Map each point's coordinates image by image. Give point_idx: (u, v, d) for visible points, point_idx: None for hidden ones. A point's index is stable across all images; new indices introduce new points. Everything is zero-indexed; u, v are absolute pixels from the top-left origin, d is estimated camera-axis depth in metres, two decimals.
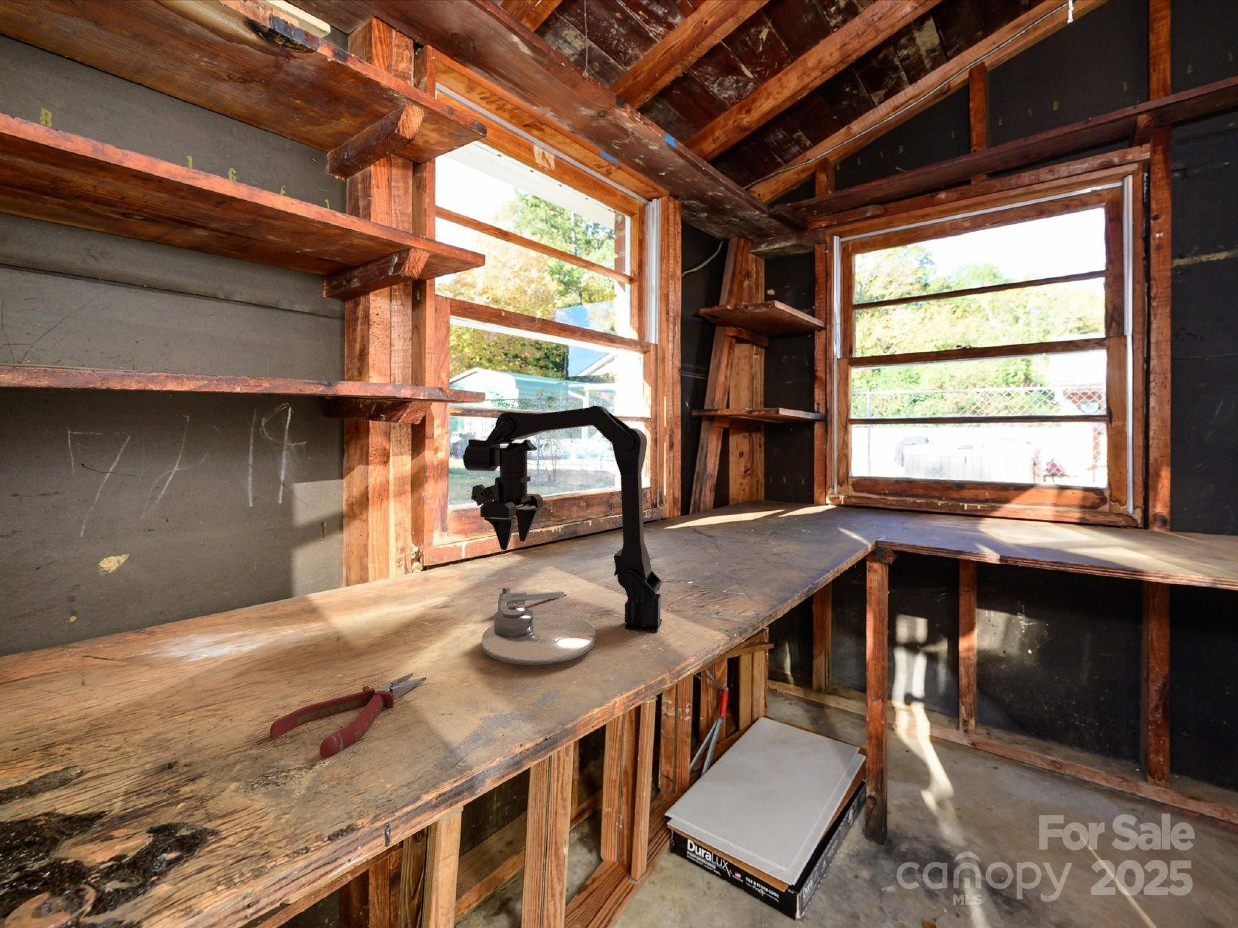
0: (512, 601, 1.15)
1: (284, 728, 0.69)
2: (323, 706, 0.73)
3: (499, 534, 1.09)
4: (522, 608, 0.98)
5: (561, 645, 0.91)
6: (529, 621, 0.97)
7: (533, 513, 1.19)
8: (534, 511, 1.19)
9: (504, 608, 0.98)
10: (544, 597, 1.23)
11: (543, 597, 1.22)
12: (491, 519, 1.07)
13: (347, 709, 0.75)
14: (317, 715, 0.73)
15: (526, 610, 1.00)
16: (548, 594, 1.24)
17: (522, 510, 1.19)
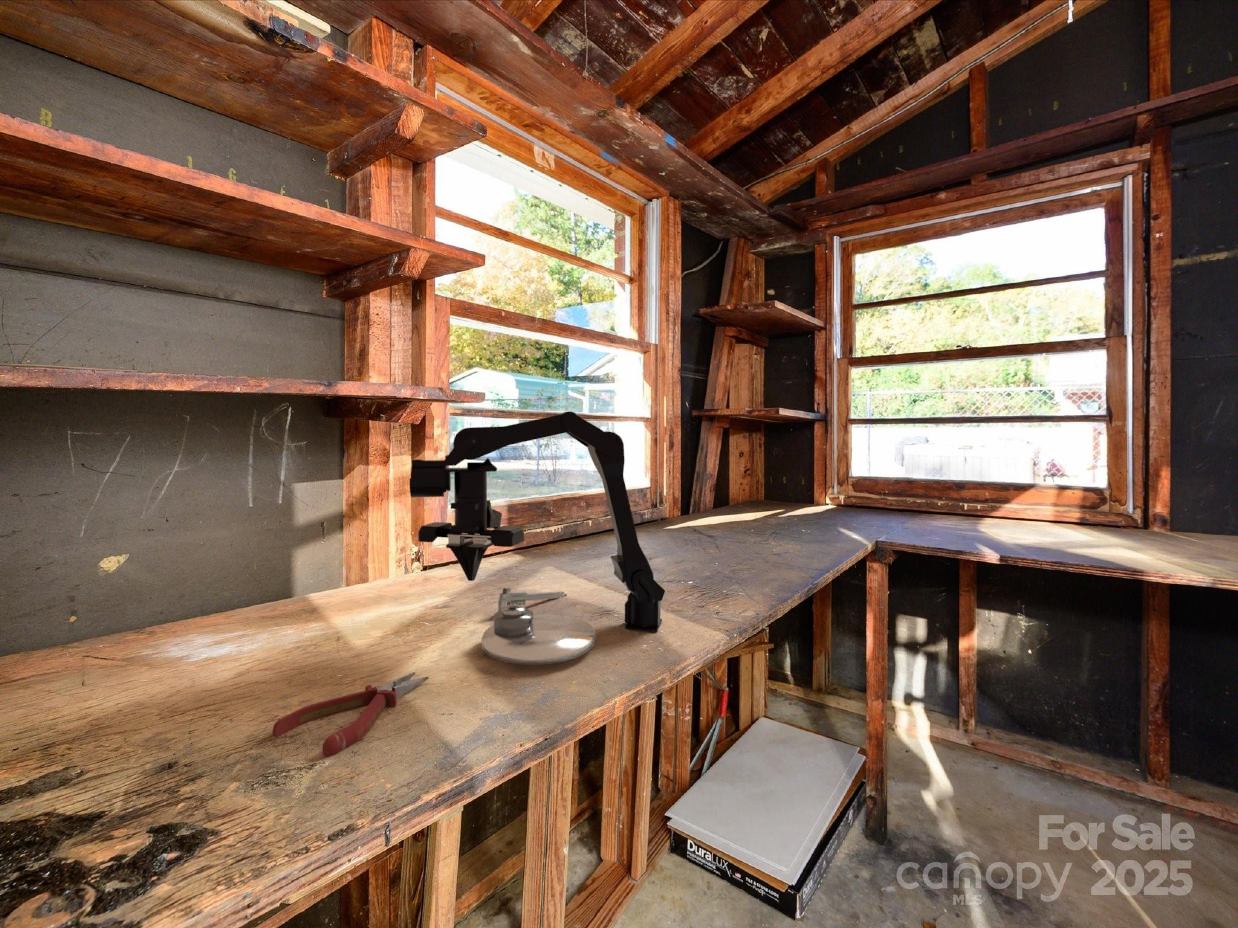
0: (512, 601, 1.15)
1: (287, 727, 0.69)
2: (325, 705, 0.73)
3: None
4: (522, 608, 0.98)
5: (561, 645, 0.91)
6: (529, 621, 0.97)
7: None
8: None
9: (504, 608, 0.98)
10: (544, 597, 1.23)
11: (543, 597, 1.22)
12: None
13: (350, 708, 0.75)
14: (320, 714, 0.73)
15: (526, 610, 1.00)
16: (548, 594, 1.24)
17: None
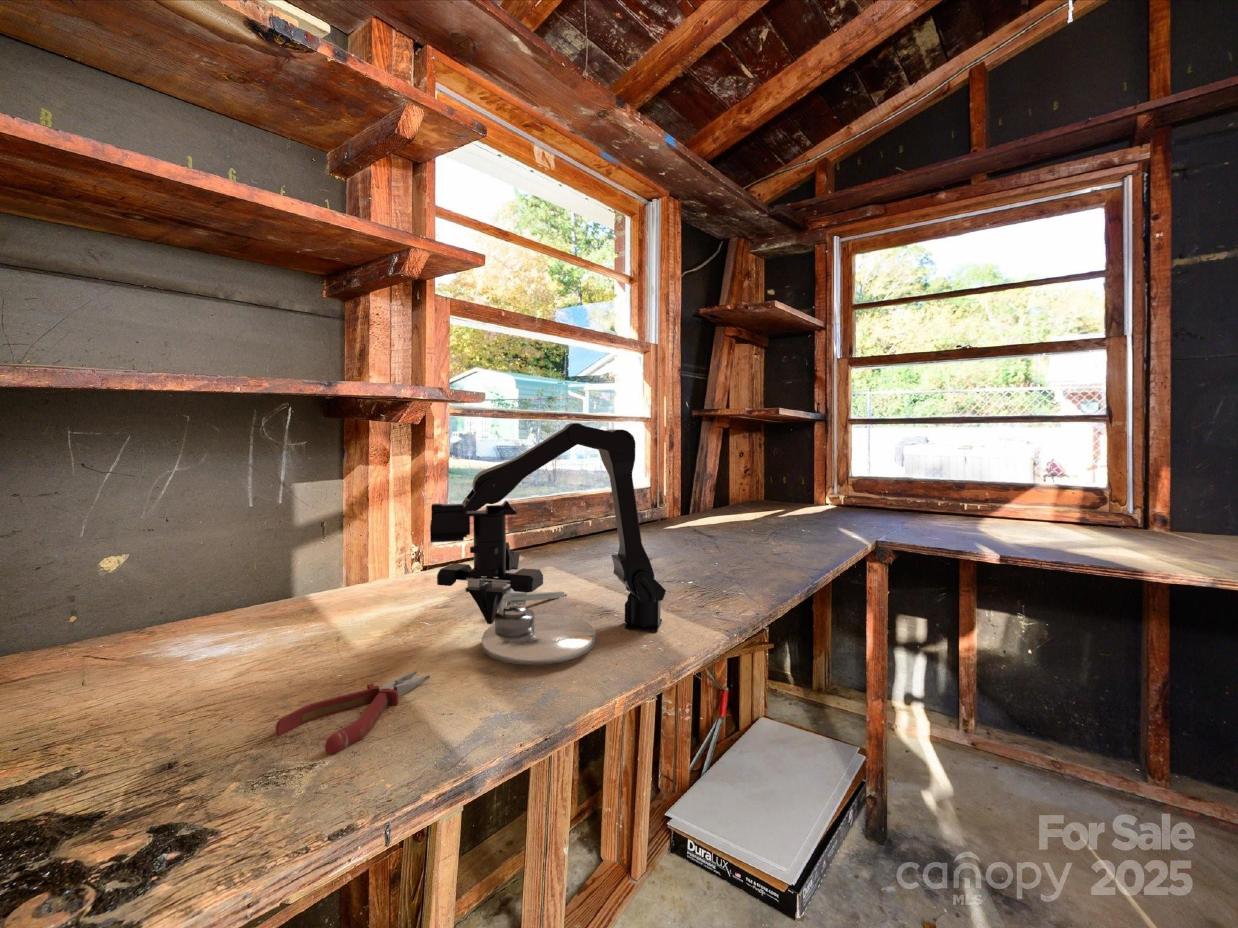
0: (512, 601, 1.15)
1: (290, 725, 0.70)
2: (328, 704, 0.74)
3: None
4: (523, 608, 0.98)
5: (561, 645, 0.91)
6: (530, 621, 0.97)
7: None
8: None
9: (505, 608, 0.98)
10: (544, 597, 1.23)
11: (543, 597, 1.22)
12: None
13: (352, 706, 0.75)
14: (322, 712, 0.73)
15: (527, 610, 1.00)
16: (548, 594, 1.24)
17: None
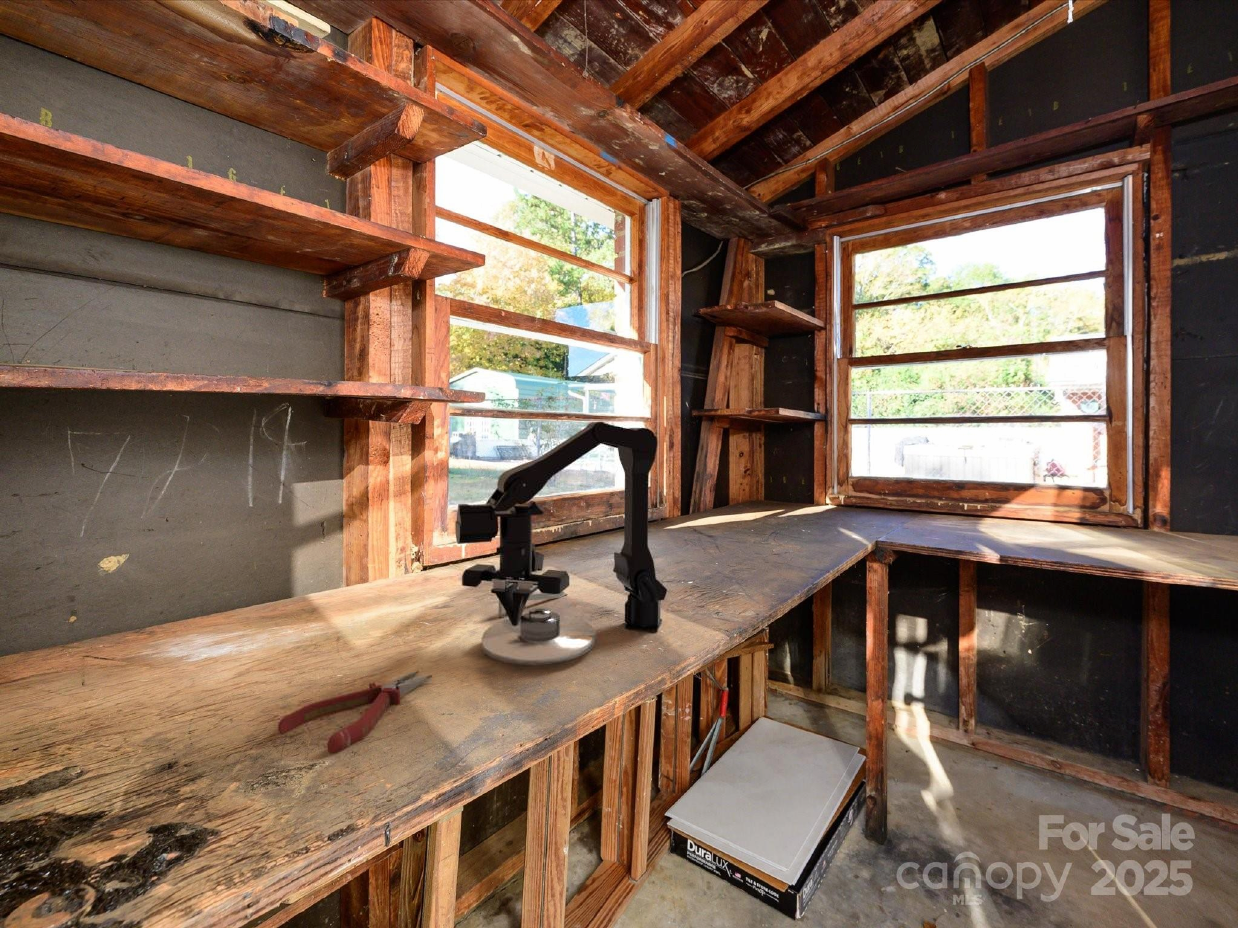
0: None
1: (292, 724, 0.70)
2: (330, 703, 0.74)
3: None
4: (549, 611, 0.96)
5: (561, 645, 0.91)
6: (557, 624, 0.95)
7: None
8: None
9: (531, 611, 0.96)
10: (544, 597, 1.23)
11: (543, 597, 1.22)
12: None
13: (354, 705, 0.76)
14: (325, 711, 0.74)
15: (552, 613, 0.99)
16: (548, 594, 1.24)
17: None
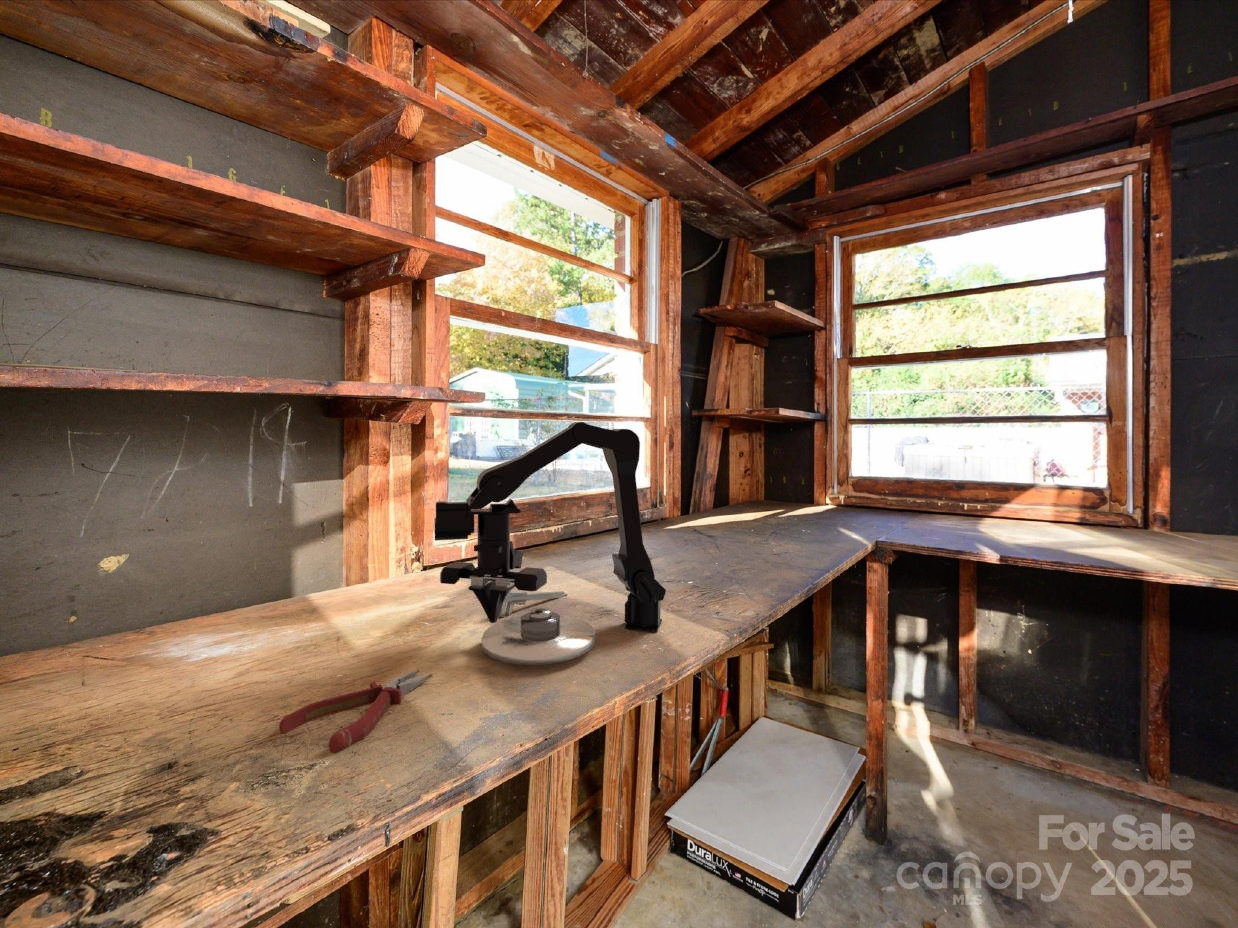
0: (513, 601, 1.15)
1: (293, 723, 0.70)
2: (331, 702, 0.74)
3: None
4: (549, 611, 0.96)
5: (561, 645, 0.91)
6: (557, 624, 0.95)
7: None
8: None
9: (531, 611, 0.96)
10: (544, 597, 1.23)
11: (543, 597, 1.22)
12: None
13: (355, 705, 0.76)
14: (326, 711, 0.74)
15: (552, 613, 0.99)
16: (548, 594, 1.24)
17: None
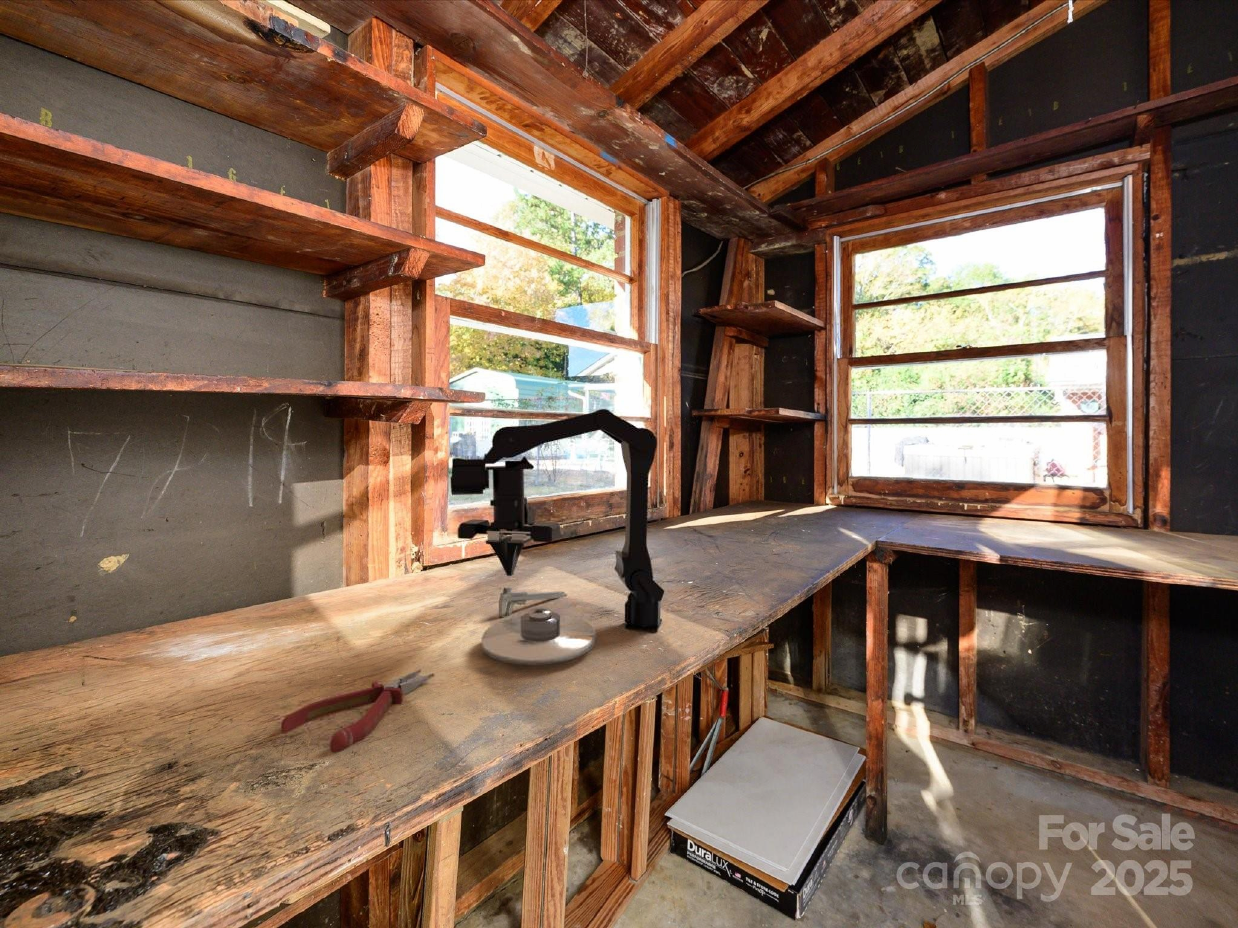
0: (513, 601, 1.15)
1: (295, 723, 0.70)
2: (333, 701, 0.74)
3: None
4: (549, 611, 0.96)
5: (561, 645, 0.91)
6: (557, 624, 0.95)
7: None
8: None
9: (531, 611, 0.96)
10: (545, 597, 1.23)
11: (544, 597, 1.22)
12: None
13: (357, 704, 0.76)
14: (327, 710, 0.74)
15: (552, 613, 0.99)
16: (549, 594, 1.24)
17: None
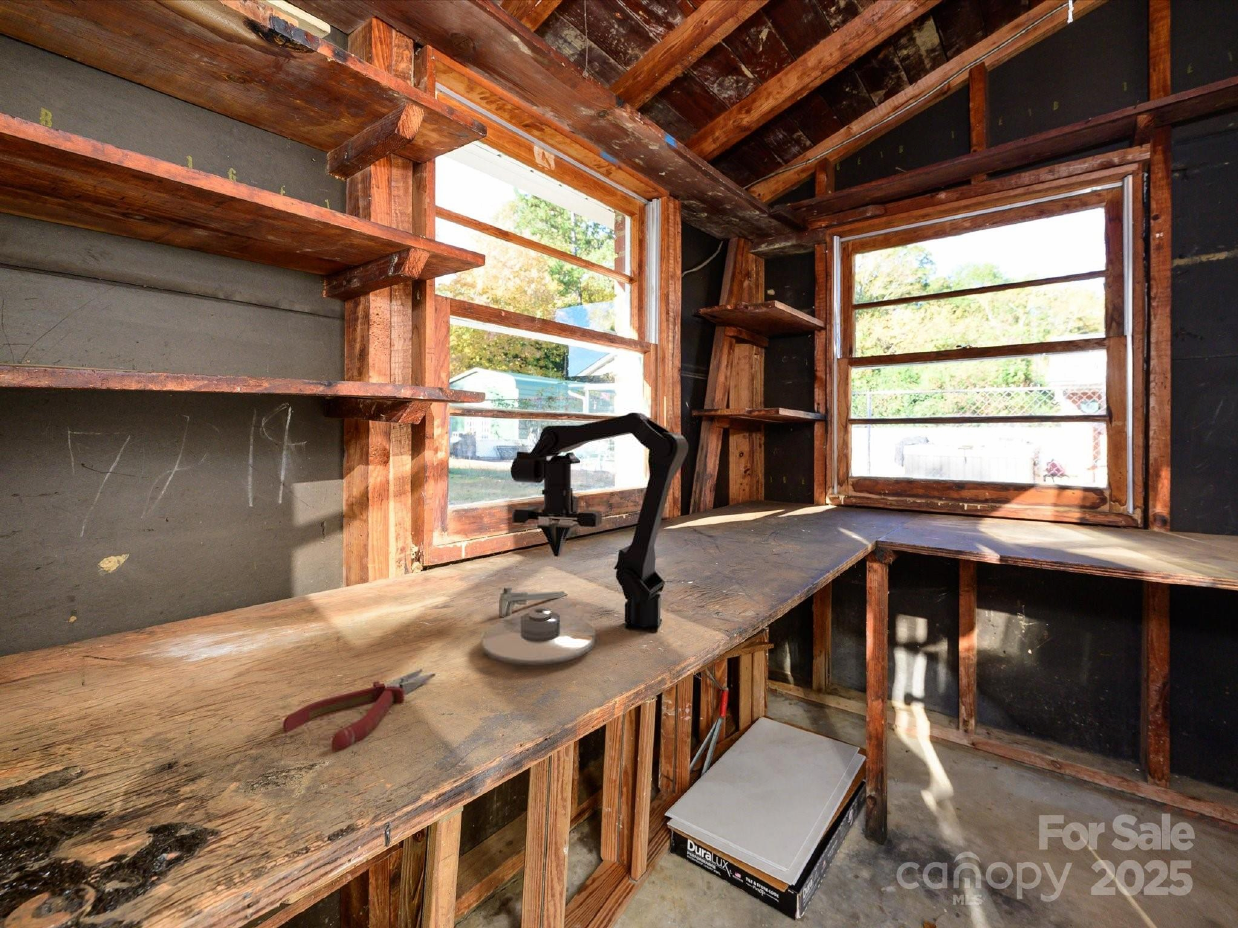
0: (513, 601, 1.15)
1: (297, 722, 0.71)
2: (334, 701, 0.74)
3: None
4: (549, 611, 0.96)
5: (561, 645, 0.91)
6: (557, 624, 0.95)
7: None
8: None
9: (531, 611, 0.96)
10: (545, 597, 1.23)
11: (544, 597, 1.22)
12: None
13: (358, 704, 0.76)
14: (329, 709, 0.74)
15: (552, 613, 0.99)
16: (549, 594, 1.24)
17: None
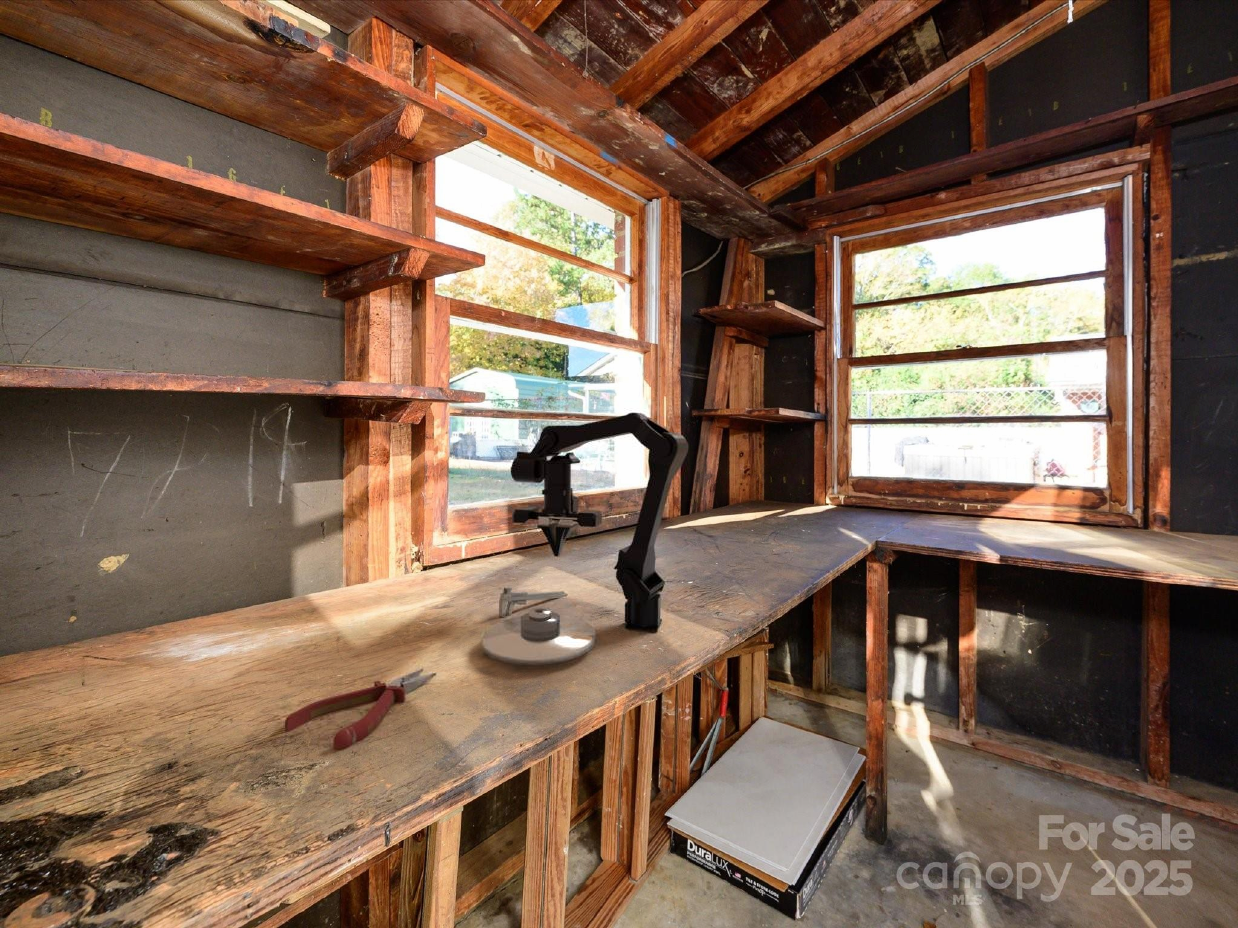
0: (513, 601, 1.15)
1: (298, 721, 0.71)
2: (336, 700, 0.75)
3: None
4: (549, 611, 0.96)
5: (561, 645, 0.91)
6: (557, 624, 0.95)
7: None
8: None
9: (531, 611, 0.96)
10: (545, 597, 1.23)
11: (544, 597, 1.22)
12: None
13: (359, 703, 0.76)
14: (330, 709, 0.74)
15: (552, 613, 0.99)
16: (549, 594, 1.24)
17: None
